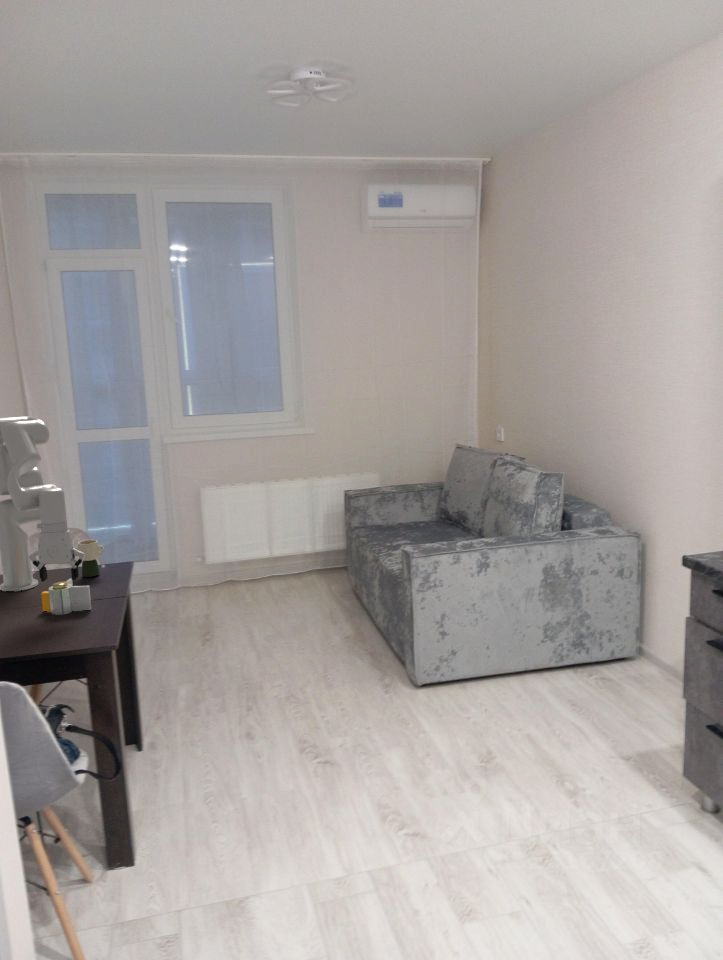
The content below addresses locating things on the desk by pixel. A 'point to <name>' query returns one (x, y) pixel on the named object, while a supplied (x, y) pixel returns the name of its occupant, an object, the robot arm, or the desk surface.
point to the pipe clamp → (45, 601)
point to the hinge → (69, 599)
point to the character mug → (90, 557)
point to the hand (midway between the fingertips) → (59, 579)
